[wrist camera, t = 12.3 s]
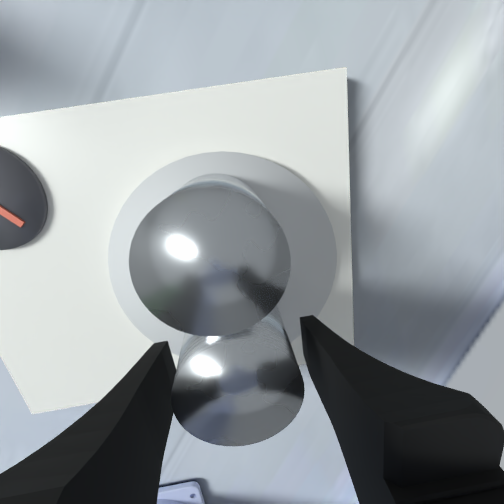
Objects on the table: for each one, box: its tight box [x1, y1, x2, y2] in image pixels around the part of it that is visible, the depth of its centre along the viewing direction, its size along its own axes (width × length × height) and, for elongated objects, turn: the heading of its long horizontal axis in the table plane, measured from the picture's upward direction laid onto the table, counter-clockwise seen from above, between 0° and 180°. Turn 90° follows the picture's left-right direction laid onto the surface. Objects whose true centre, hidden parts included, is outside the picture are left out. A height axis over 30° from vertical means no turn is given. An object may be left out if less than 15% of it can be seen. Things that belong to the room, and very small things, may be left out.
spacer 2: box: [171, 305, 304, 446], centre depth 12 cm, size 4×4×6 cm
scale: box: [0, 67, 354, 414], centre depth 14 cm, size 15×19×2 cm
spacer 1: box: [129, 173, 291, 337], centre depth 10 cm, size 4×4×6 cm
